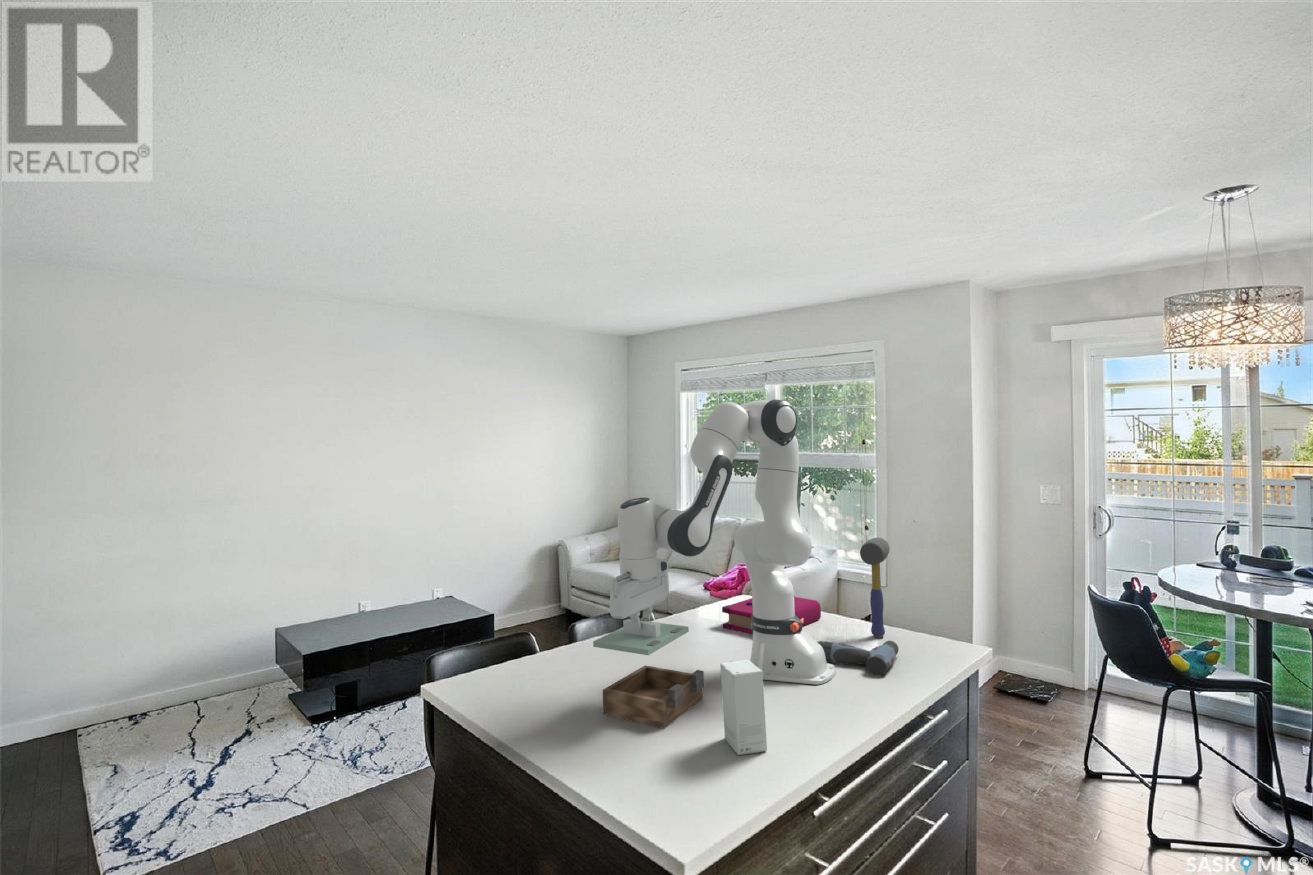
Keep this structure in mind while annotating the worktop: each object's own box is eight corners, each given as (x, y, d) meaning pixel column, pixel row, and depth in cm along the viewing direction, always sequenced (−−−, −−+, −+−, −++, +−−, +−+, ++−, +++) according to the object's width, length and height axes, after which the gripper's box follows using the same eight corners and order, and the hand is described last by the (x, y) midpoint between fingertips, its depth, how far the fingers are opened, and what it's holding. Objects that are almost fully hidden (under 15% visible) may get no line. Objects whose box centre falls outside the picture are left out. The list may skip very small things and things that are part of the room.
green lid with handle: (688, 631, 152) (687, 614, 152) (648, 655, 137) (647, 636, 137) (637, 624, 160) (636, 609, 160) (593, 646, 144) (592, 629, 144)
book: (821, 621, 215) (820, 599, 215) (774, 641, 195) (773, 616, 195) (769, 611, 230) (768, 590, 230) (720, 628, 210) (720, 605, 210)
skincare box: (767, 752, 124) (765, 671, 124) (735, 756, 122) (732, 675, 123) (752, 733, 132) (749, 658, 132) (721, 737, 130) (719, 661, 131)
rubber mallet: (887, 644, 187) (883, 542, 188) (861, 641, 191) (857, 541, 192) (894, 632, 198) (890, 536, 199) (869, 630, 202) (866, 535, 203)
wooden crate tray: (708, 699, 150) (707, 668, 150) (670, 730, 135) (669, 694, 135) (645, 687, 159) (644, 657, 159) (603, 714, 144) (602, 680, 144)
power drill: (832, 647, 188) (903, 657, 177) (811, 666, 172) (887, 678, 161) (831, 628, 188) (902, 638, 177) (810, 646, 172) (886, 657, 161)
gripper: (624, 578, 138) (628, 642, 138) (672, 560, 155) (675, 617, 155) (601, 576, 141) (604, 639, 141) (650, 559, 158) (653, 615, 158)
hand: (642, 627), depth 148 cm, fingers closed on green lid with handle, 2 cm apart
